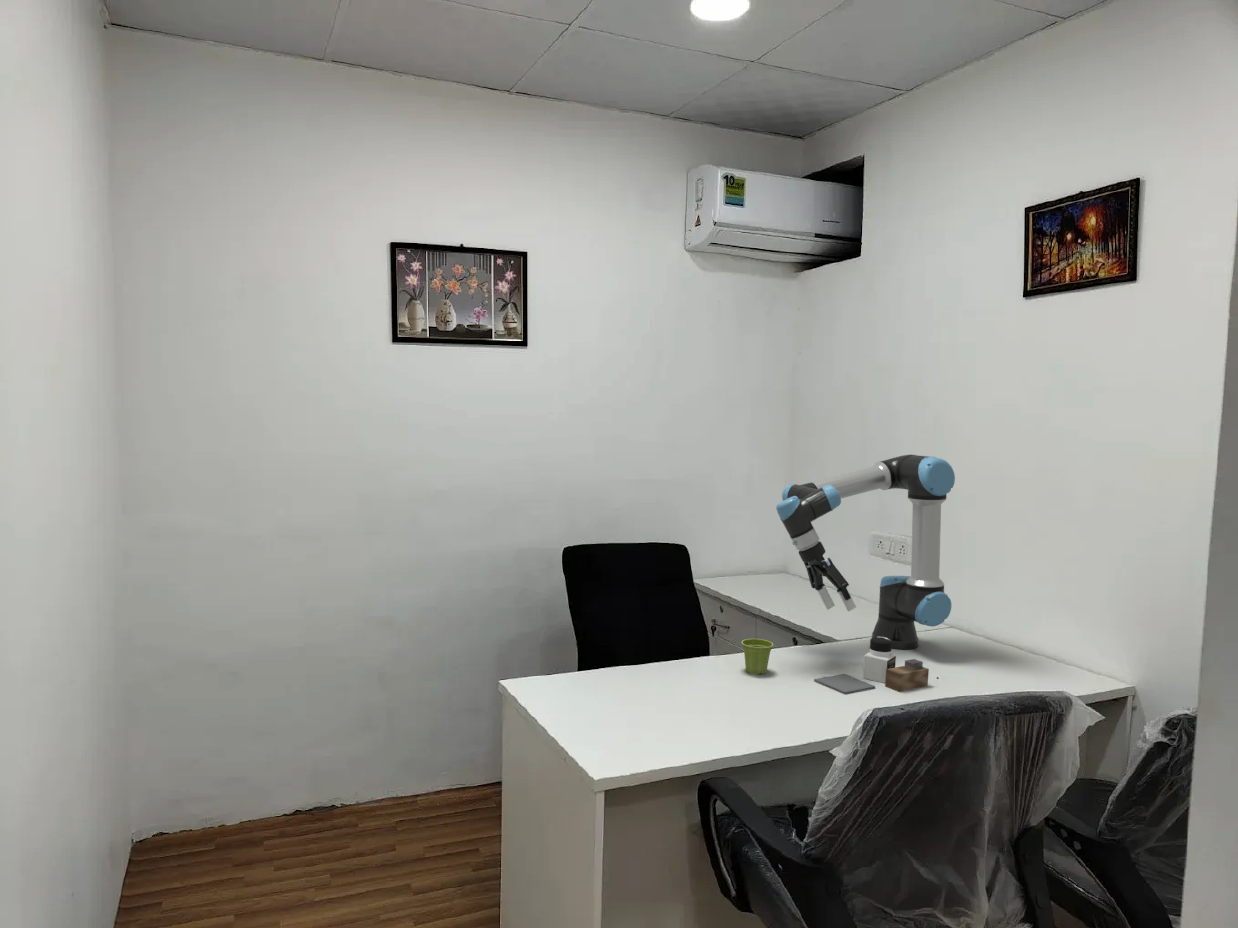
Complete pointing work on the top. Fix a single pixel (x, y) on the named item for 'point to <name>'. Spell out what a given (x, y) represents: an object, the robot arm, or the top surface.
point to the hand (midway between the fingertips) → (841, 608)
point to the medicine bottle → (878, 659)
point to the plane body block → (907, 676)
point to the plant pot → (756, 655)
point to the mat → (844, 683)
